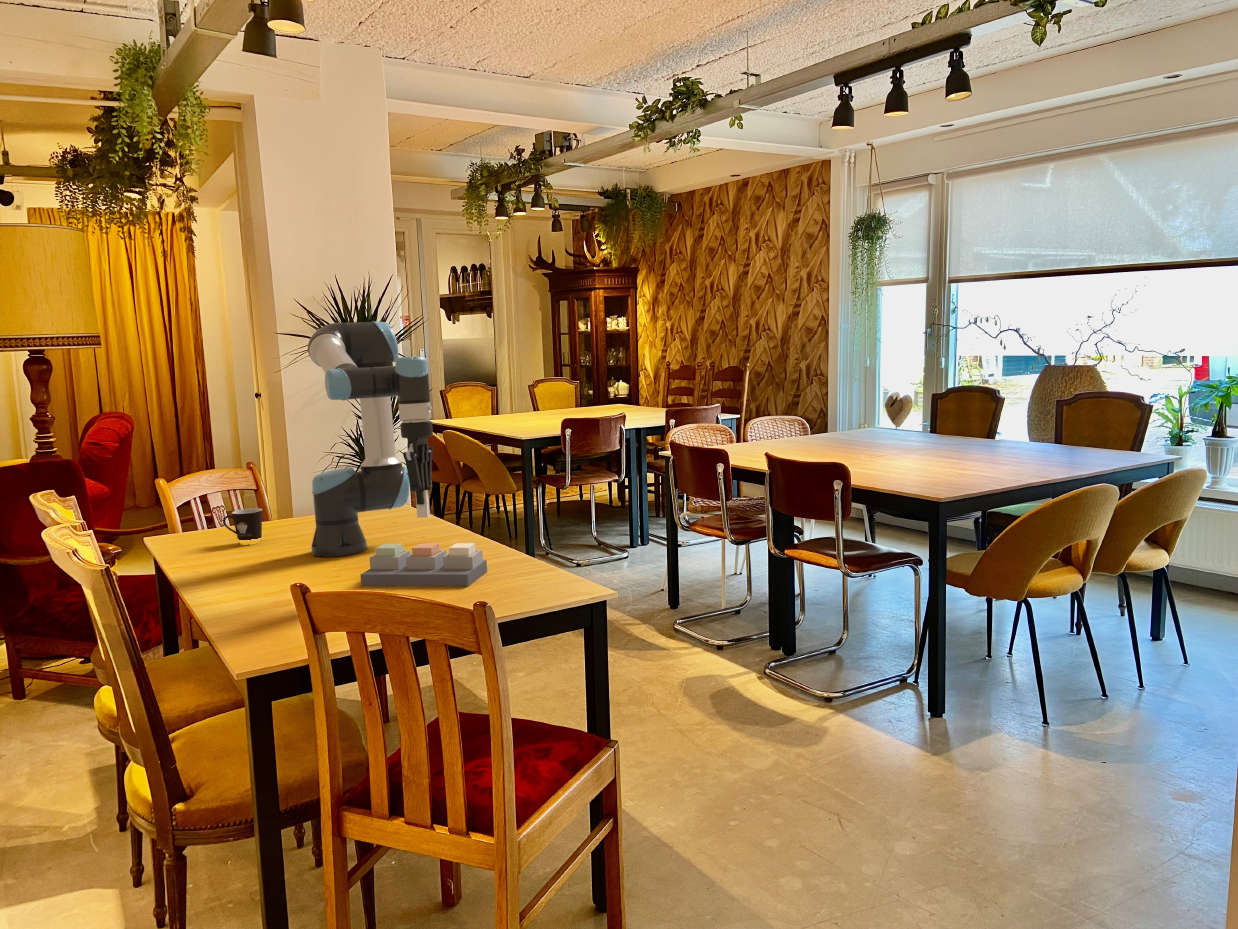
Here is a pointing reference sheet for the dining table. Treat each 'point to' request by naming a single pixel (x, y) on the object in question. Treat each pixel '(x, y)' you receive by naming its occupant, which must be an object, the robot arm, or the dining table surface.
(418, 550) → the terracotta key
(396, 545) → the sage key
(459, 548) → the cream key
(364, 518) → the dining table surface
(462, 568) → the key panel
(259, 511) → the coffee mug
